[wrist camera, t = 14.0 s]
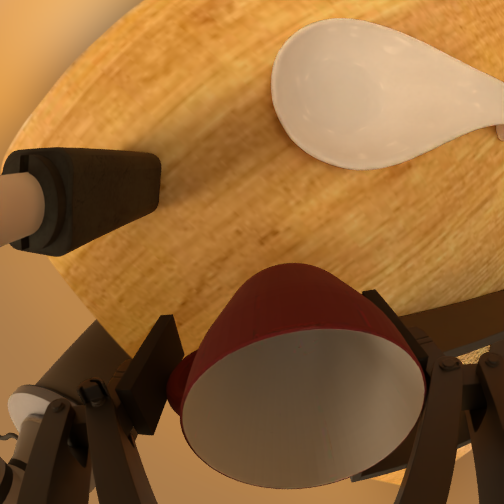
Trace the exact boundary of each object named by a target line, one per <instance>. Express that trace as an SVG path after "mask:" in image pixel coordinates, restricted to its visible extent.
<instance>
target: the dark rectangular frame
mask: <svg viewBox="0 0 504 504" xmlns="http://www.w3.org/2000/svg"><path fill="white" fill-rule="evenodd" d="M398 318H399V319H400V320H401V321H402V323H403V324H404V325H405V326H406V328H409V327H413V326H417V327H419V328H421V329H423V330H424V331H425V332H426V333H427V334H428V335H429V337H430V338H431V339H432V340H433V342H434V343H435V344H436V345H437V346H438V347H439V348H440V350H441V351H442V352H443V353H444V354H445V356H452V357H457V356H460V355H463V354H466V353H469V352H472V351H474V350H477V349H480V348H482V347H485V346H488V345H490V344H491V347H490V350H489V352H494V353H498V354H500V355H502V356H503V357H504V290H501V291H498V292H495V293H492V294H488V295H485V296H481V297H478V298H474V299H471V300H467V301H463V302H460V303H456V304H452V305H448V306H444V307H440V308H436V309H432V310H428V311H424V312H419V313H415V314H410V315H406V316H401V317H398ZM418 425H419V420H418V422H417V423H416V425H415V427H414V428H413V430H412V431H411V433H410V434H409V435H408V437H407V438H406V439H405V440H404V441H403V443H402V444H401V445H400V446H399V447H398V448H397V449H395V450H394V451H393V452H392V453H391V454H390V455H388V456H387V457H386V458H384V459H383V460H382V461H380V462H379V463H377V464H376V465H374V466H372V467H370V468H369V469H367V470H365V471H363V472H361V473H359V474H357V475H354V476H352V477H350V479H351V482H356V481H360V480H365V479H369V478H373V477H377V476H381V475H384V474H388V473H391V472H395V471H398V470H401V469H405V468H407V465H408V462H409V458H410V455H411V452H412V448H413V444H414V441H415V437H416V433H417V429H418ZM469 443H471V439H470V433H469V429H468V424H467V419H466V415H465V411H461V419H460V429H459V438H458V445H457V449H458V448H460V447H463V446H465V445H467V444H469Z"/></svg>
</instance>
